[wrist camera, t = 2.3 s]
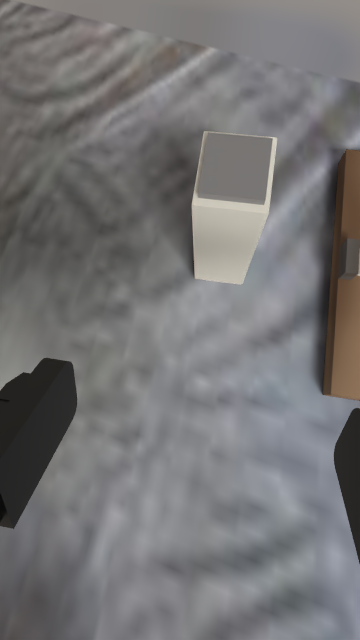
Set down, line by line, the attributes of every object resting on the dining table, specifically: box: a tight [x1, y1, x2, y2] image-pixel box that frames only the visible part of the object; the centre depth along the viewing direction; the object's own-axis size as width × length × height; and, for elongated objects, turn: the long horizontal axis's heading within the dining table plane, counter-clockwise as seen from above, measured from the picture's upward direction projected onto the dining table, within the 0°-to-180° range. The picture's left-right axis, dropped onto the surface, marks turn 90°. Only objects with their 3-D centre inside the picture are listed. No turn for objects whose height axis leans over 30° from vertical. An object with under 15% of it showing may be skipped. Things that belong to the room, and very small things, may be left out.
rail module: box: [192, 131, 277, 285], centre depth 21 cm, size 4×4×10 cm
